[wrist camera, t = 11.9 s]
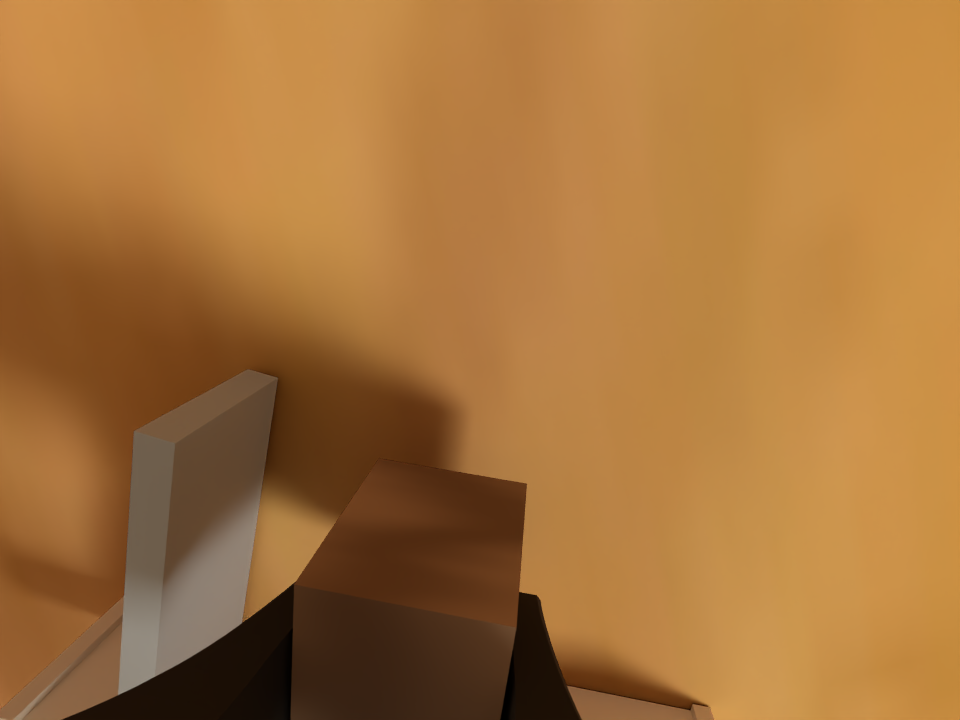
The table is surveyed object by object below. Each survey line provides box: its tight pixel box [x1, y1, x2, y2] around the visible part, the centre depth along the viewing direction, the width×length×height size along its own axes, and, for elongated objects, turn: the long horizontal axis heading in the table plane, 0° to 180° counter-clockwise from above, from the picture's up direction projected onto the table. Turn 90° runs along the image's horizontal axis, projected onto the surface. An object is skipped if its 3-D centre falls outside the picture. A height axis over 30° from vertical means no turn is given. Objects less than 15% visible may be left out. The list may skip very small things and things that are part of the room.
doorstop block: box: [291, 459, 527, 720], centre depth 12 cm, size 4×5×5 cm
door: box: [118, 369, 278, 695], centre depth 16 cm, size 11×2×5 cm, turn 166°
